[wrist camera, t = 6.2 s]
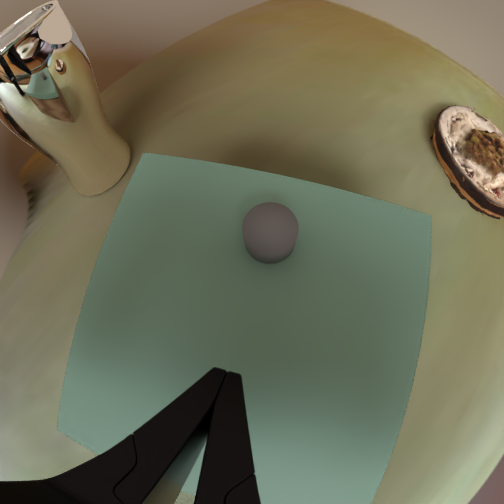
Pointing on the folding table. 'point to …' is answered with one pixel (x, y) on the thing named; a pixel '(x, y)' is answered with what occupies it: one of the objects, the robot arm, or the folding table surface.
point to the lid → (256, 320)
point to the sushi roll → (472, 157)
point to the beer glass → (58, 100)
